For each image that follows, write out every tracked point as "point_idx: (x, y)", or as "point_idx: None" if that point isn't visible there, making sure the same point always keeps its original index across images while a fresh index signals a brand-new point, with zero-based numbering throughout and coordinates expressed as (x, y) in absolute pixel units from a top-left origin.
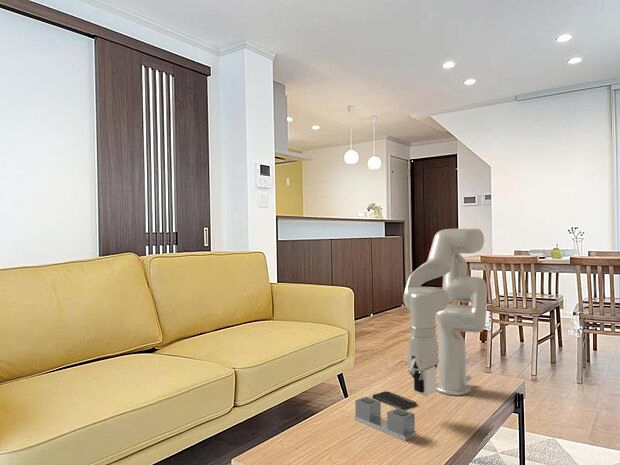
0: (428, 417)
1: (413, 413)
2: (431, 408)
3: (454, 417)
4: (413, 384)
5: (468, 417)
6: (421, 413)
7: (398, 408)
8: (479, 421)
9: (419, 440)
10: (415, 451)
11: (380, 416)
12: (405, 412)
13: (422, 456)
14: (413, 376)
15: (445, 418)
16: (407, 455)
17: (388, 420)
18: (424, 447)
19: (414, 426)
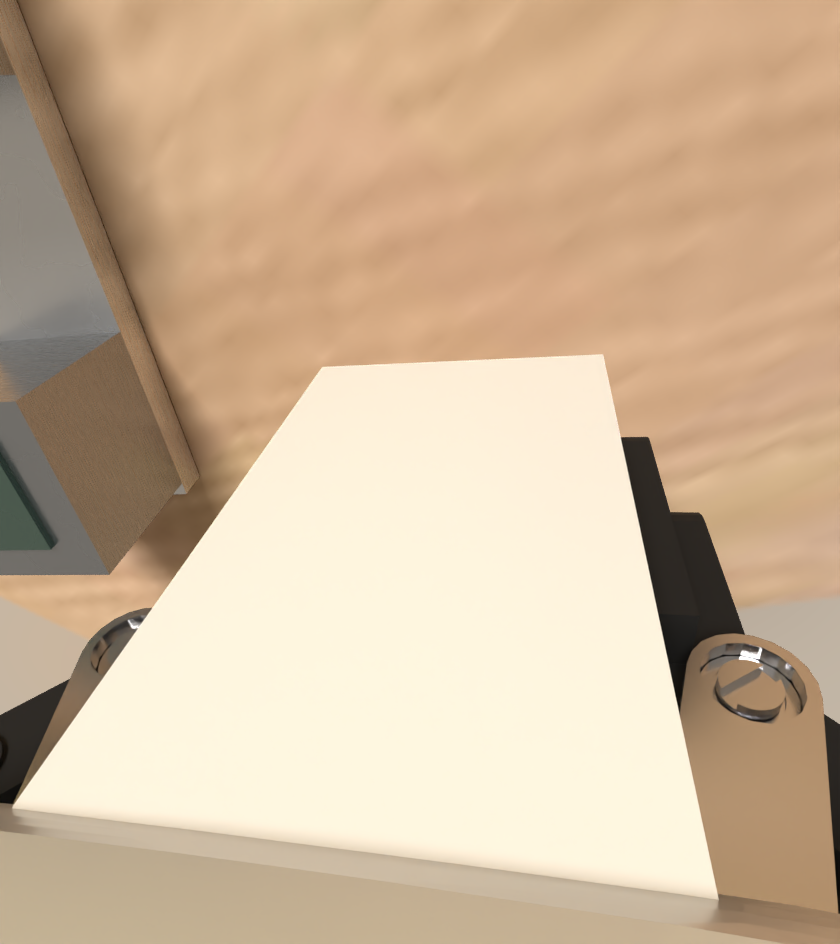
0: (547, 312)
1: (104, 564)
2: (821, 147)
3: (727, 453)
4: (277, 439)
5: (811, 518)
6: (584, 189)
7: (12, 412)
8: (780, 595)
9: (182, 523)
10: (86, 580)
11: (1, 75)
12: (30, 527)
13: (95, 622)
14: (43, 718)
15: (646, 420)
16: (24, 580)
17: None
18: (158, 583)
19: (161, 505)
